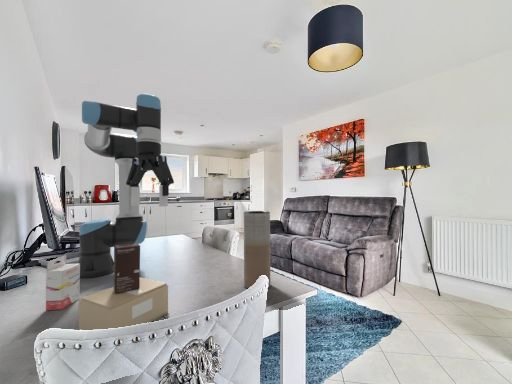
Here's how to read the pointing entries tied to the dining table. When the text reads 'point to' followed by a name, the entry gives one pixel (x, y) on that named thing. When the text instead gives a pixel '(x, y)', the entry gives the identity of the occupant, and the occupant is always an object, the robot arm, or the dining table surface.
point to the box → (126, 267)
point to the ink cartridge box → (61, 284)
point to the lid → (122, 294)
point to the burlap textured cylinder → (256, 246)
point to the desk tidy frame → (70, 255)
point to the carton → (125, 311)
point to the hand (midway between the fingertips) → (149, 206)
